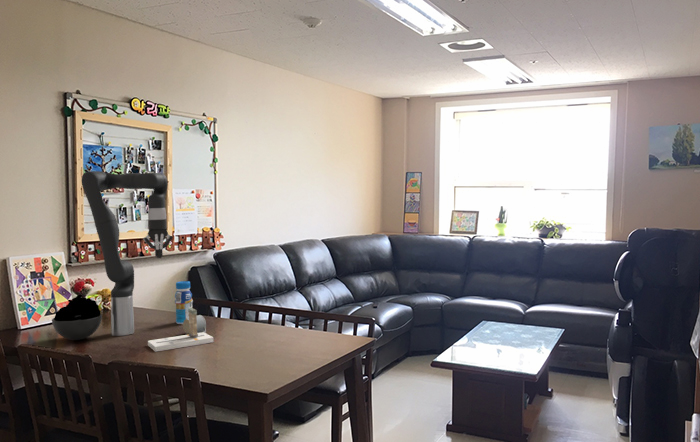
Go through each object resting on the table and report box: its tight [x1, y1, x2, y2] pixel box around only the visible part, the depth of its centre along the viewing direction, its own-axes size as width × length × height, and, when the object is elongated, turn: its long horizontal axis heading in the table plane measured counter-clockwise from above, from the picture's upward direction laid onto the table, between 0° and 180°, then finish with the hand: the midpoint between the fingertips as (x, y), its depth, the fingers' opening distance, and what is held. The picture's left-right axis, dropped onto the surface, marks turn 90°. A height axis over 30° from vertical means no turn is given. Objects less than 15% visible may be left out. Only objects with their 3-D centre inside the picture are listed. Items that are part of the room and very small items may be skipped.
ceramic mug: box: [182, 314, 207, 335], centre depth 261 cm, size 11×8×8 cm
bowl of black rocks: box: [51, 294, 103, 341], centre depth 256 cm, size 20×20×19 cm
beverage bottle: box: [174, 280, 194, 325], centre depth 285 cm, size 8×8×20 cm
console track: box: [147, 332, 214, 352], centre depth 244 cm, size 24×12×2 cm, turn 123°
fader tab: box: [188, 307, 198, 338], centre depth 246 cm, size 3×6×12 cm, turn 33°
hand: (158, 257), depth 256 cm, fingers closed
